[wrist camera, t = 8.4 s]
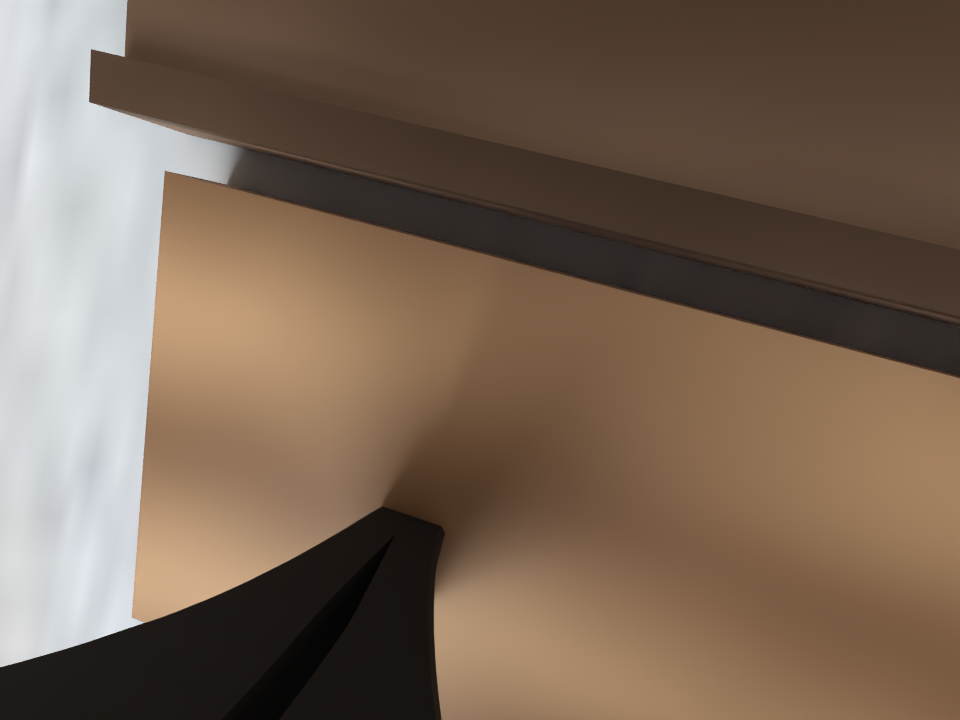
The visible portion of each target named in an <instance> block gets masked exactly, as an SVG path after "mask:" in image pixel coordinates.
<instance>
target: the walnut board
mask: <svg viewBox="0 0 960 720" xmlns="http://www.w3.org/2000/svg"><path fill="white" fill-rule="evenodd" d="M89 102H91V103H94V104H97V105H100V106H103V107H106V108H109V109H112V110H115V111H118V112H121V113H124V114H127V115H131V116H134V117H137V118H140V119H143V120H146V121H149V122H152V123H155V124H158V125H161V126H164V127H167V128H170V129H173V130H176V131H179V132H182V133H185V134H189V135H193V136H197V137H201V138H205V139H209V140H213V141H217V142H221V143H225V144H229V145H233V146H237V147H241V148H245V149H249V150H253V151H257V152H261V153H265V154H269V155H273V156H277V157H281V158H285V159H290V160H294V161H298V162H302V163H306V164H310V165H314V166H318V167H322V168H326V169H330V170H334V171H338V172H342V173H346V174H350V175H354V176H358V177H362V178H366V179H370V180H374V181H378V182H382V183H386V184H390V185H394V186H398V187H402V188H406V189H410V190H414V191H418V192H422V193H426V194H430V195H434V196H438V197H442V198H446V199H450V200H454V201H459V202H463V203H467V204H471V205H475V206H479V207H483V208H487V209H491V210H495V211H499V212H503V213H507V214H511V215H515V216H519V217H523V218H527V219H531V220H535V221H539V222H543V223H547V224H551V225H555V226H559V227H563V228H567V229H571V230H575V231H579V232H583V233H587V234H591V235H595V236H599V237H603V238H607V239H611V240H615V241H619V242H623V243H628V244H632V245H636V246H640V247H644V248H648V249H652V250H656V251H660V252H664V253H668V254H672V255H676V256H680V257H684V258H688V259H692V260H696V261H700V262H704V263H708V264H712V265H716V266H720V267H724V268H728V269H732V270H736V271H740V272H744V273H748V274H752V275H756V276H760V277H764V278H768V279H772V280H776V281H780V282H784V283H788V284H792V285H797V286H801V287H805V288H809V289H813V290H817V291H821V292H825V293H829V294H833V295H837V296H841V297H845V298H849V299H853V300H857V301H861V302H865V303H869V304H873V305H877V306H881V307H885V308H889V309H893V310H897V311H901V312H905V313H909V314H913V315H917V316H921V317H925V318H929V319H933V320H937V321H941V322H945V323H949V324H953V325H957V326H960V0H128V2H127V21H126V41H125V57H122V56H118V55H113V54H109V53H105V52H100V51H96V50H92V49H91V67H90V96H89Z"/></svg>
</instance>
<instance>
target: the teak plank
mask: <svg viewBox="0 0 960 720" xmlns="http://www.w3.org/2000/svg"><path fill="white" fill-rule="evenodd" d="M382 506H383V507H386V508H389V509H392V510H395V511H398V512H401V513H404V514H407V515H410V516H413V517H415V518H418V519H421V520H424V521H427V522H430V523H433V524H436V525H439V526H442V528H443V530H444V532H445V537H444V541H443V544H442V548H441V552H440V556H439V559H438V563H437V567H436V575H435V591H434V639H435V660H436V673H437V684H438V694H439V702H440V710H441V719H442V720H960V375H956V374H953V373H949V372H945V371H941V370H937V369H933V368H930V367H926V366H922V365H918V364H914V363H910V362H906V361H903V360H899V359H895V358H891V357H887V356H883V355H880V354H876V353H872V352H868V351H864V350H860V349H856V348H853V347H849V346H845V345H841V344H837V343H833V342H830V341H826V340H822V339H818V338H814V337H810V336H806V335H803V334H799V333H795V332H791V331H787V330H783V329H780V328H776V327H772V326H768V325H764V324H760V323H757V322H753V321H749V320H745V319H741V318H737V317H733V316H730V315H726V314H722V313H718V312H714V311H710V310H707V309H703V308H699V307H695V306H691V305H687V304H683V303H680V302H676V301H672V300H668V299H664V298H660V297H657V296H653V295H649V294H645V293H641V292H637V291H633V290H630V289H626V288H622V287H618V286H614V285H610V284H607V283H603V282H599V281H595V280H591V279H587V278H583V277H580V276H576V275H572V274H568V273H564V272H560V271H557V270H553V269H549V268H545V267H541V266H537V265H533V264H530V263H526V262H522V261H518V260H514V259H510V258H507V257H503V256H499V255H495V254H491V253H487V252H484V251H480V250H476V249H472V248H468V247H464V246H460V245H457V244H453V243H449V242H445V241H441V240H437V239H434V238H430V237H426V236H422V235H418V234H414V233H410V232H407V231H403V230H399V229H395V228H391V227H387V226H384V225H380V224H376V223H372V222H368V221H364V220H360V219H357V218H353V217H349V216H345V215H341V214H337V213H334V212H330V211H326V210H322V209H318V208H314V207H310V206H307V205H303V204H299V203H295V202H291V201H287V200H284V199H280V198H276V197H272V196H268V195H264V194H260V193H257V192H253V191H249V190H245V189H241V188H237V187H234V186H230V185H226V184H222V183H217V182H213V181H208V180H204V179H199V178H194V177H190V176H185V175H181V174H176V173H172V172H167V171H165V176H164V190H163V203H162V217H161V230H160V244H159V257H158V271H157V284H156V298H155V311H154V325H153V338H152V352H151V365H150V379H149V392H148V406H147V419H146V433H145V446H144V460H143V473H142V487H141V500H140V514H139V527H138V541H137V554H136V568H135V581H134V595H133V608H132V618H135V619H137V620H140V621H142V622H145V623H146V622H149V621H152V620H155V619H158V618H161V617H164V616H166V615H169V614H172V613H174V612H177V611H179V610H182V609H184V608H187V607H189V606H192V605H194V604H197V603H199V602H202V601H204V600H207V599H209V598H212V597H214V596H216V595H218V594H221V593H223V592H225V591H227V590H230V589H232V588H234V587H236V586H238V585H241V584H243V583H245V582H247V581H249V580H251V579H253V578H255V577H257V576H259V575H261V574H263V573H265V572H267V571H269V570H271V569H273V568H275V567H277V566H279V565H281V564H283V563H285V562H287V561H289V560H291V559H292V558H294V557H296V556H298V555H300V554H302V553H303V552H305V551H307V550H309V549H310V548H312V547H314V546H316V545H318V544H319V543H321V542H323V541H325V540H326V539H328V538H330V537H332V536H333V535H335V534H337V533H338V532H340V531H342V530H343V529H345V528H347V527H348V526H350V525H352V524H353V523H355V522H356V521H358V520H360V519H361V518H363V517H364V516H366V515H368V514H369V513H371V512H373V511H374V510H376V509H378V508H380V507H382Z"/></svg>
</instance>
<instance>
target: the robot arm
mask: <svg viewBox="0 0 960 720" xmlns="http://www.w3.org/2000/svg"><path fill="white" fill-rule="evenodd" d="M444 537H445V532H444V530H443V528H442V526H439V525H436V524H433V523H430V522H427V521H424V520H421V519H418V518H415V517H413V516H410V515H407V514H404V513H401V512H398V511H395V510H392V509H389V508H386V507H383V506H382V507H380V508H378V509H376V510H374V511H373V512H371V513H369V514H368V515H366V516H364V517H363V518H361V519H360V520H358V521H356V522H355V523H353V524H352V525H350V526H348V527H347V528H345V529H343V530H342V531H340V532H338V533H337V534H335V535H333V536H332V537H330V538H328V539H326V540H325V541H323V542H321V543H319V544H318V545H316V546H314V547H312V548H310V549H309V550H307V551H305V552H303V553H302V554H300V555H298V556H296V557H294V558H292V559H291V560H289V561H287V562H285V563H283V564H281V565H279V566H277V567H275V568H273V569H271V570H269V571H267V572H265V573H263V574H261V575H259V576H257V577H255V578H253V579H251V580H249V581H247V582H245V583H243V584H241V585H238V586H236V587H234V588H232V589H230V590H227V591H225V592H223V593H221V594H218V595H216V596H214V597H212V598H209V599H207V600H204V601H202V602H199V603H197V604H194V605H192V606H189V607H187V608H184V609H182V610H179V611H177V612H174V613H172V614H169V615H166V616H164V617H161V618H158V619H155V620H152V621H149V622H146V623H143V624H140V625H137V626H134V627H131V628H128V629H125V630H122V631H119V632H117V633H114V634H111V635H108V636H105V637H102V638H99V639H96V640H93V641H90V642H87V643H84V644H81V645H78V646H74V647H71V648H68V649H64V650H61V651H57V652H54V653H50V654H47V655H44V656H40V657H37V658H33V659H30V660H26V661H23V662H19V663H15V664H12V665H8V666H4V667H0V720H442V719H441V710H440V702H439V694H438V684H437V673H436V660H435V639H434V591H435V575H436V567H437V563H438V559H439V556H440V552H441V548H442V544H443V541H444Z"/></svg>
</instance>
